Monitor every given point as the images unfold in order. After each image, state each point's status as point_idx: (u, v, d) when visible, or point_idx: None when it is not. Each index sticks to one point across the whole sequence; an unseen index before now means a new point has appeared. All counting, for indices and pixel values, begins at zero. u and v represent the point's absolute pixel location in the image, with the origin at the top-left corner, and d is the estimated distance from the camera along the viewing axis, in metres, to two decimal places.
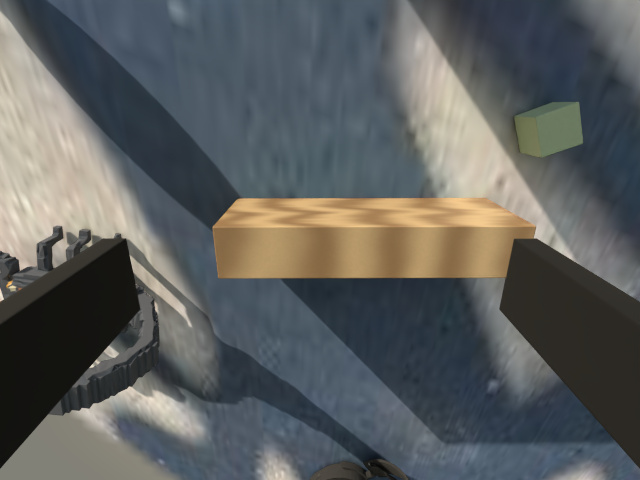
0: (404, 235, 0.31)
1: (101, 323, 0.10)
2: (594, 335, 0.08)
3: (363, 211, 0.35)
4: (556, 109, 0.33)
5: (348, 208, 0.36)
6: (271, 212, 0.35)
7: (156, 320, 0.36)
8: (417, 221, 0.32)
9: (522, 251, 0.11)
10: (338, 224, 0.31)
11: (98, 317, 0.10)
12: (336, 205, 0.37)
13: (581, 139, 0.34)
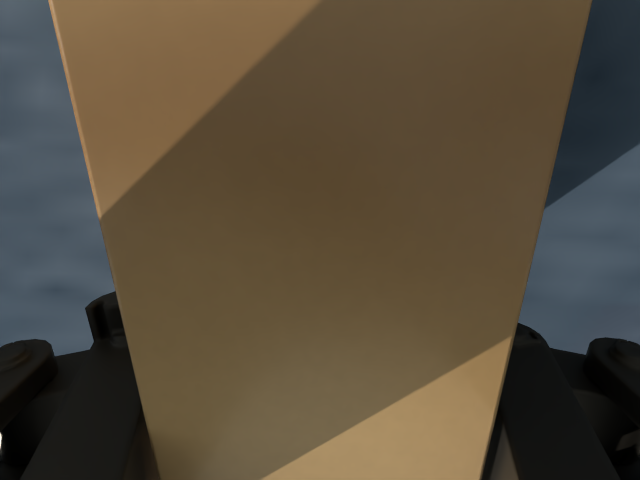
0: None
1: None
2: None
3: None
4: None
5: None
6: None
7: None
8: None
9: None
10: None
11: None
12: None
13: None
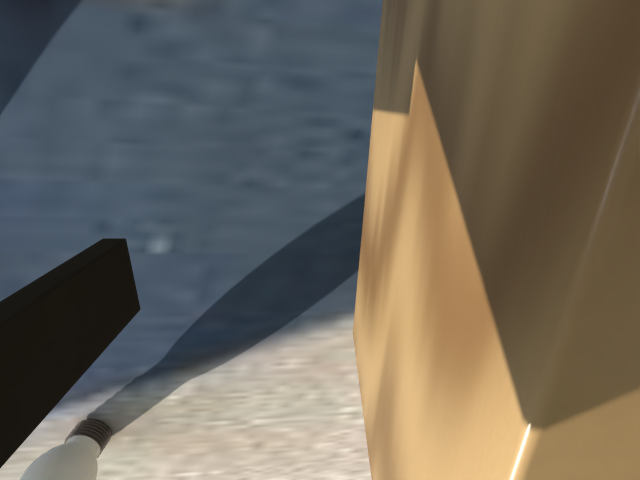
0: None
1: (101, 323, 0.10)
2: None
3: None
4: None
5: None
6: (392, 312, 0.07)
7: None
8: None
9: None
10: None
11: (98, 317, 0.10)
12: None
13: None
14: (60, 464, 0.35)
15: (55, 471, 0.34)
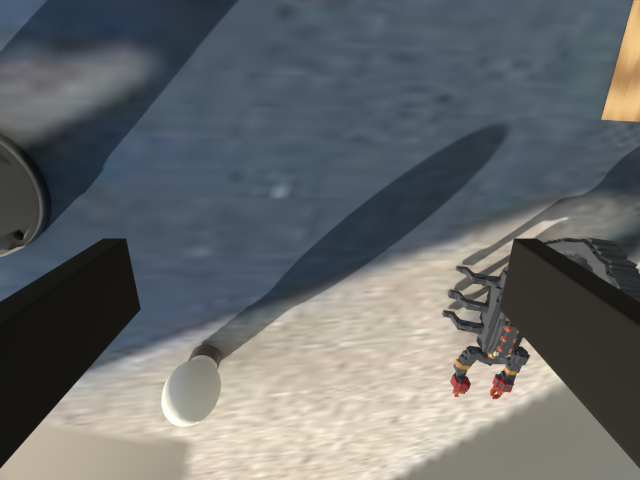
0: None
1: (101, 323, 0.10)
2: (594, 335, 0.08)
3: None
4: None
5: None
6: None
7: (558, 240, 0.36)
8: None
9: (523, 251, 0.11)
10: None
11: (98, 317, 0.10)
12: None
13: None
14: (199, 370, 0.44)
15: (198, 374, 0.43)
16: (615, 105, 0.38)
